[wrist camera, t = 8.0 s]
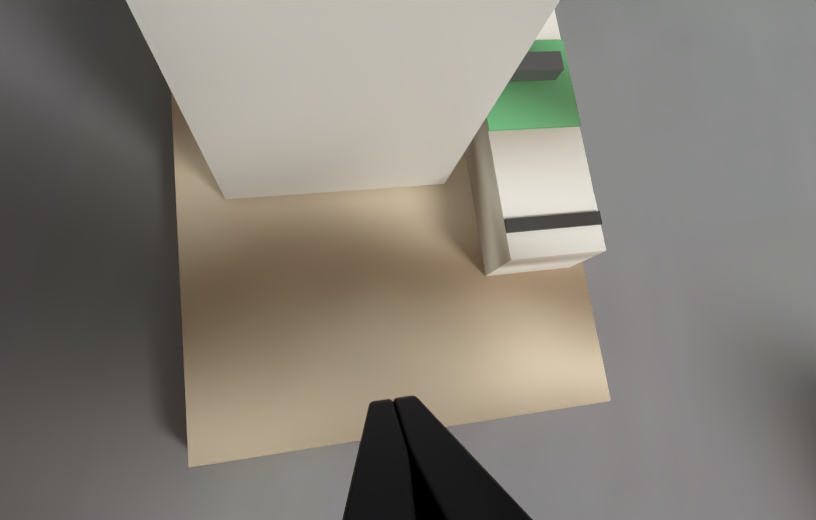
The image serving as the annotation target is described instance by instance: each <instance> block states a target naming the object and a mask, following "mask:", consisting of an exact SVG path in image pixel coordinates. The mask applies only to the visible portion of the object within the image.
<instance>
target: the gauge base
mask: <svg viewBox="0 0 816 520" xmlns="http://www.w3.org/2000/svg"><path fill="white" fill-rule="evenodd" d="M543 51H561V56H562V60H563V65H564V70H563V71H562V73H561V74H560V75H559V77H558V78H557V79H556V80H544V81H515V82H508V84H507V85H506V87H505V88H504V90H503V92H502V93H501V95H500V96H499V98H498V100H497V101H496V103H495V104H494V106H493V107H492V109H491V111H490V112H489V114H488V115H487V117H486V119H485V120H484V122H483V123H482V125H481V127H480V128H479V130H478V131H477V133H476V134H475V136H474V138H473V139H472V141H471V142H470V144H469V146H468V147H467V149H466V150H465V152H464V154H463V155H462V157H461V158H460V160H459V161H458V163H457V165H456V166H455V168H454V169H453V171H452V173H451V174H450V176H449V177H448V179H447V181H446V182H445V184H436V185H422V186H408V187H394V188H380V189H366V190H352V191H337V192H323V193H309V194H295V195H281V196H267V197H253V198H239V199H225V198H224V196H223V194H222V192H221V190H220V188H219V186H218V184H217V182H216V180H215V178H214V176H213V174H212V172H211V170H210V168H209V166H208V164H207V162H206V160H205V158H204V156H203V154H202V152H201V150H200V148H199V146H198V144H197V142H196V140H195V138H194V136H193V134H192V132H191V130H190V128H189V126H188V124H187V122H186V120H185V118H184V116H183V114H182V112H181V110H180V108H179V106H178V104H177V102H176V100H175V98H174V96H173V94H172V92H171V104H172V125H173V146H174V167H175V188H176V209H177V231H178V252H179V273H180V294H181V315H182V336H183V357H184V378H185V400H186V421H187V442H188V463H189V467H195V466H202V465H208V464H214V463H221V462H227V461H233V460H240V459H246V458H252V457H259V456H265V455H271V454H278V453H284V452H290V451H296V450H303V449H309V448H315V447H322V446H328V445H334V444H341V443H347V442H353V441H360V440H361V437H362V433H363V428H364V424H365V420H366V415H367V411H368V407H369V404H370V402H372V401H377V400H384V399H391V400H392V401H393V400H394V399H395V398H397V397H404V396H411V395H413V396H416V397H417V398H418V399H419V400H420V401H421V402H422V403H423V404H424V405H425V406H426V407H427V408H428V409H429V410H430V411H431V412H432V413H433V415H434V416H435V417H436V418H437V419H438V420H439V421H440V422H441V423H442V424H443V425H444V426H445V427H448V426H454V425H461V424H467V423H473V422H480V421H486V420H492V419H499V418H505V417H511V416H517V415H524V414H530V413H536V412H543V411H549V410H555V409H562V408H568V407H574V406H581V405H587V404H593V403H600V402H606V401H611V399H610V395H609V390H608V385H607V380H606V375H605V370H604V365H603V360H602V356H601V351H600V346H599V341H598V336H597V331H596V326H595V321H594V316H593V312H592V307H591V302H590V297H589V292H588V287H587V282H586V277H585V273H584V268H583V263H582V261H584V260H587V259H589V258H591V257H593V256H595V255H597V254H599V253H602V252H604V251H606V247H605V243H604V238H603V233H602V229H601V224H602V220H601V215H600V211H598V210H597V206H596V201H595V196H594V192H593V187H592V182H591V178H590V173H589V168H588V164H587V159H586V154H585V150H584V145H583V140H582V136H581V131H580V126H581V123H580V118H579V113H578V109H577V104H576V100H575V95H574V90H573V86H572V81H571V76H570V72H569V67H568V62H567V58H566V53H565V49H564V44H563V39H561V38H560V34H559V29H558V24H557V20H556V15H555V10H554V11H553V12H552V14H551V15H550V17H549V19H548V20H547V22H546V23H545V25H544V27H543V28H542V30H541V31H540V33H539V34H538V36H537V38H536V39H535V41H534V42H533V44H532V46H531V47H530V49H529V50H528V52H543Z"/></svg>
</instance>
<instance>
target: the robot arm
mask: <svg viewBox="0 0 816 520" xmlns="http://www.w3.org/2000/svg"><path fill="white" fill-rule="evenodd" d="M342 520H532V519H531V517H530V516H529V515H528V514H527V513H526V512H525V511H524V510H523V509H522V508H521V507H520V506H519V505H518V504H517V503H516V502H515V501H514V499H513V498H512V497H511V496H510V495H509V494H508V493H507V492H506V491H505V490H504V489H503V488H502V487H501V486H500V485H499V484H498V482H497V481H496V480H495V479H494V478H493V477H492V476H491V475H490V474H489V473H488V472H487V471H486V470H485V469H484V468H483V467H482V465H481V464H480V463H479V462H478V461H477V460H476V459H475V458H474V457H473V456H472V455H471V454H470V453H469V452H468V451H467V450H466V448H465V447H464V446H463V445H462V444H461V443H460V442H459V441H458V440H457V439H456V438H455V437H454V436H453V435H452V434H451V433H450V432H449V430H448V429H447V428H446V427H445V426H444V425H443V424H442V423H441V422H440V421H439V420H438V419H437V418H436V417H435V416H434V415H433V413H432V412H431V411H430V410H429V409H428V408H427V407H426V406H425V405H424V404H423V403H422V402H421V401H420V400H419V399H418V398H417V397H416V396H413V395H411V396H404V397H397V398H395V399H394V400H393V401H392V400H391V399H384V400H377V401H372V402H370V404H369V407H368V411H367V415H366V420H365V424H364V428H363V433H362V437H361V441H360V446H359V450H358V454H357V459H356V463H355V467H354V472H353V476H352V480H351V485H350V489H349V493H348V498H347V502H346V506H345V511H344V515H343V519H342Z"/></svg>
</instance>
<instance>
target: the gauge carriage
mask: <svg viewBox="0 0 816 520" xmlns="http://www.w3.org/2000/svg"><path fill="white" fill-rule="evenodd" d="M559 1H560V0H126V2H127V4H128V6H129V8H130V10H131V12H132V14H133V16H134V18H135V20H136V22H137V24H138V26H139V28H140V30H141V32H142V34H143V36H144V38H145V40H146V42H147V44H148V46H149V48H150V50H151V52H152V54H153V56H154V58H155V60H156V62H157V64H158V66H159V68H160V70H161V72H162V74H163V76H164V78H165V80H166V82H167V84H168V86H169V88H170V90H171V92H172V94H173V96H174V98H175V100H176V102H177V104H178V106H179V108H180V110H181V112H182V114H183V116H184V118H185V120H186V122H187V124H188V126H189V128H190V130H191V132H192V134H193V136H194V138H195V140H196V142H197V144H198V146H199V148H200V150H201V152H202V154H203V156H204V158H205V160H206V162H207V164H208V166H209V168H210V170H211V172H212V174H213V176H214V178H215V180H216V182H217V184H218V186H219V188H220V190H221V192H222V194H223V196H224V198H225V199H239V198H253V197H267V196H281V195H295V194H309V193H323V192H337V191H352V190H366V189H380V188H394V187H408V186H422V185H436V184H445V182H446V181H447V179H448V177H449V176H450V174H451V173H452V171H453V169H454V168H455V166H456V165H457V163H458V161H459V160H460V158H461V157H462V155H463V154H464V152H465V150H466V149H467V147H468V146H469V144H470V142H471V141H472V139H473V138H474V136H475V134H476V133H477V131H478V130H479V128H480V127H481V125H482V123H483V122H484V120H485V119H486V117H487V115H488V114H489V112H490V111H491V109H492V107H493V106H494V104H495V103H496V101H497V100H498V98H499V96H500V95H501V93H502V92H503V90H504V88H505V87H506V85H507V84H508V82H515V81H544V80H556V79H557V78H558V77H559V75H560V74H561V73H562V71H563V70H564V65H563V60H562V56H561V51H543V52H528V50H529V49H530V47H531V46H532V44H533V42H534V41H535V39H536V38H537V36H538V34H539V33H540V31H541V30H542V28H543V27H544V25H545V23H546V22H547V20H548V19H549V17H550V15H551V14H552V12H553V11H554V9H555V7H556V6H557V4H558V3H559Z"/></svg>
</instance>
